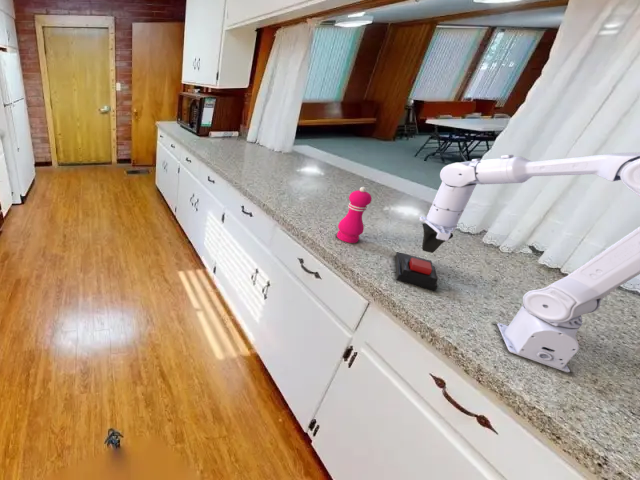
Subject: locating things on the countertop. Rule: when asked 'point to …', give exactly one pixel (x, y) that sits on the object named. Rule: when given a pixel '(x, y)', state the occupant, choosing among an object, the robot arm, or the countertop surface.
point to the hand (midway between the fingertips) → (427, 250)
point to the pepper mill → (354, 216)
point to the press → (414, 273)
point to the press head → (420, 266)
